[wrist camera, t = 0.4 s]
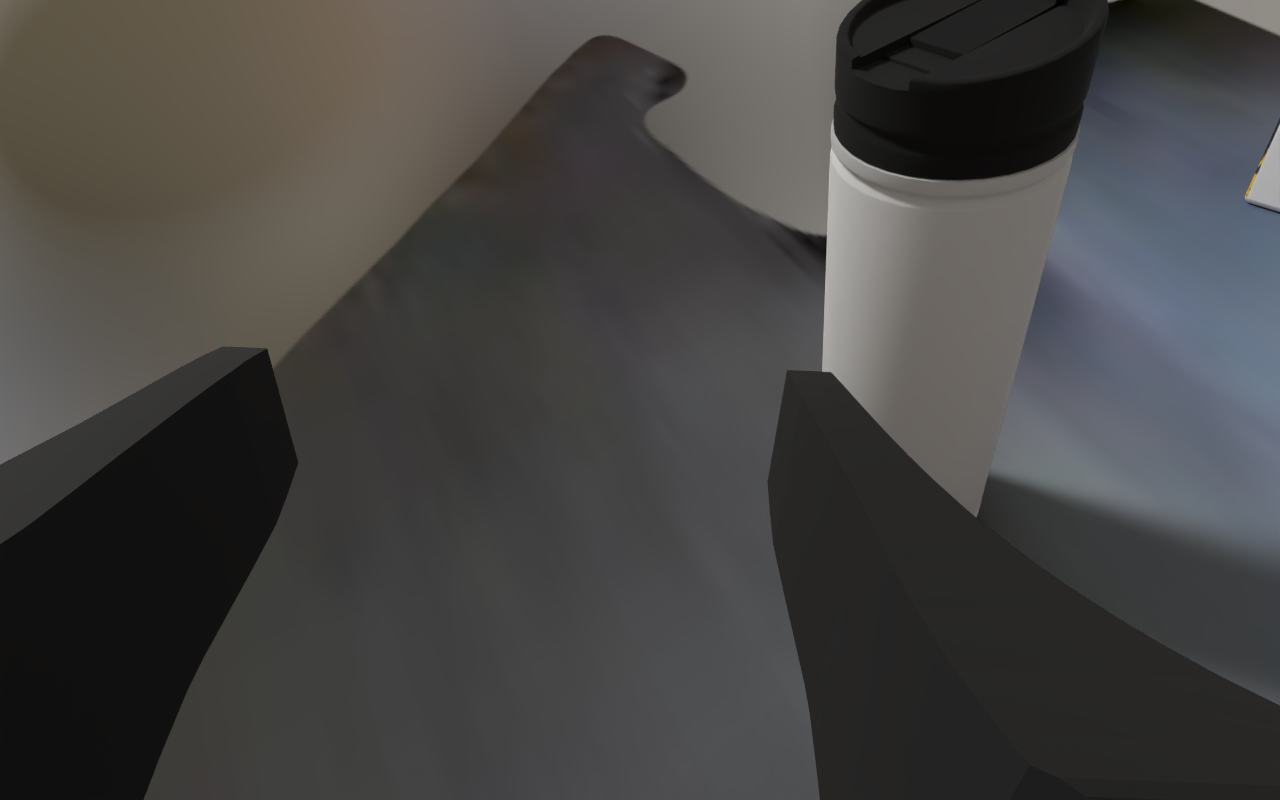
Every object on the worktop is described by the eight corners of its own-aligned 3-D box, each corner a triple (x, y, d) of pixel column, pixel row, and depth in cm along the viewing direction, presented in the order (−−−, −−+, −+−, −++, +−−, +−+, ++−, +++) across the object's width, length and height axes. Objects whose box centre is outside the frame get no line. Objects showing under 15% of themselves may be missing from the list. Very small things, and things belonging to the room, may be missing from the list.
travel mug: (1016, 508, 32) (1187, -28, 18) (896, 597, 30) (987, 68, 16) (899, 422, 36) (966, -71, 22) (786, 496, 34) (782, 2, 20)
